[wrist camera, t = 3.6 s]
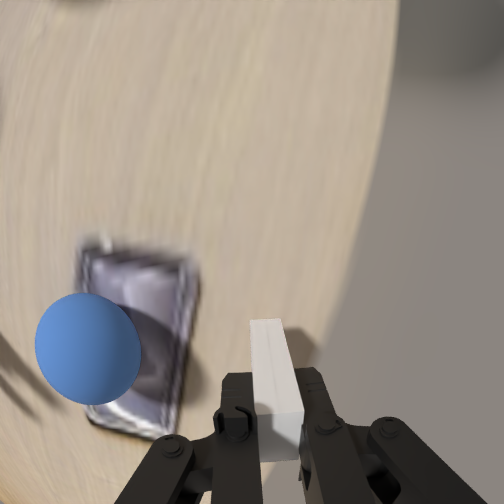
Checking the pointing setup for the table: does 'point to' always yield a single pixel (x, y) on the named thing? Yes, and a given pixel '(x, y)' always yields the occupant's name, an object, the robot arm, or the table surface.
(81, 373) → the ball
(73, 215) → the table surface
